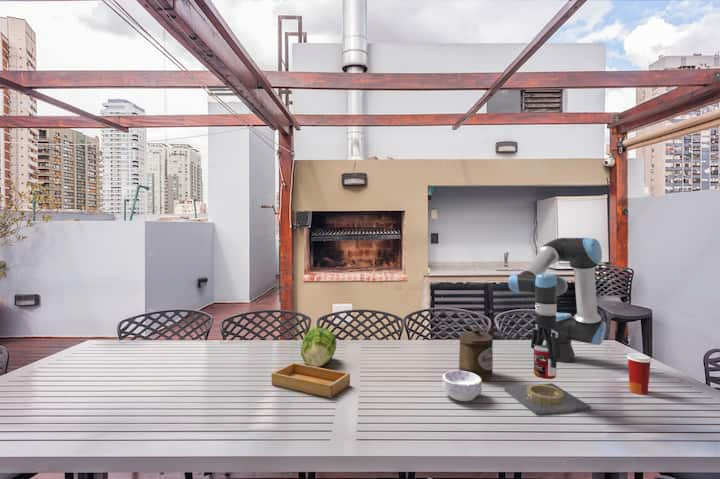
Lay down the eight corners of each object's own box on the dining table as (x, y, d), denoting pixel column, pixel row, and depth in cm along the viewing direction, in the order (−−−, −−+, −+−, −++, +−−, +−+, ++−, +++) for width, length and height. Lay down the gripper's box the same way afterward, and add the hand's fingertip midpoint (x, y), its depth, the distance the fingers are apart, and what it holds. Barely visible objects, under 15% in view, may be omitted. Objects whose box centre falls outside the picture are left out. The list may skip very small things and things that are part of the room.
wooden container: (488, 383, 166) (488, 333, 166) (454, 376, 174) (455, 328, 174) (495, 373, 179) (496, 326, 178) (464, 367, 187) (464, 322, 186)
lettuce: (291, 356, 178) (324, 334, 177) (294, 334, 200) (323, 314, 200) (313, 384, 182) (346, 362, 181) (314, 359, 204) (342, 340, 204)
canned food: (529, 372, 153) (530, 345, 153) (548, 371, 154) (549, 344, 154) (540, 379, 146) (540, 351, 145) (560, 379, 146) (560, 350, 146)
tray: (271, 385, 166) (271, 372, 166) (293, 373, 179) (293, 361, 179) (330, 400, 151) (330, 385, 151) (350, 386, 164) (350, 373, 164)
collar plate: (504, 390, 159) (504, 381, 159) (552, 386, 163) (552, 378, 163) (536, 415, 138) (536, 405, 137) (590, 410, 141) (591, 401, 141)
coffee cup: (646, 389, 160) (647, 353, 160) (654, 397, 152) (654, 359, 152) (623, 386, 163) (623, 351, 163) (629, 394, 155) (630, 357, 155)
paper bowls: (460, 408, 143) (460, 387, 143) (434, 393, 156) (434, 373, 156) (490, 400, 150) (490, 380, 150) (463, 386, 164) (463, 367, 163)
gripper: (521, 308, 159) (521, 363, 159) (554, 319, 139) (553, 382, 139) (538, 308, 160) (537, 362, 160) (572, 319, 140) (572, 380, 140)
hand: (544, 371), depth 150 cm, fingers closed on canned food, 8 cm apart
